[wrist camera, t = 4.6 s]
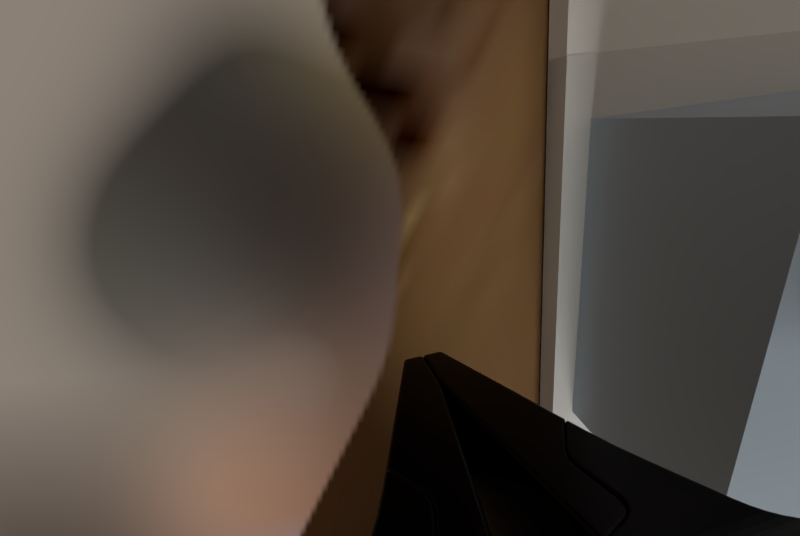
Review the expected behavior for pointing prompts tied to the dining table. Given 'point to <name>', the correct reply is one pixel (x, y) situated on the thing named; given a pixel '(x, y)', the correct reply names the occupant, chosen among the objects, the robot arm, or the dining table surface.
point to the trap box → (630, 93)
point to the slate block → (696, 294)
